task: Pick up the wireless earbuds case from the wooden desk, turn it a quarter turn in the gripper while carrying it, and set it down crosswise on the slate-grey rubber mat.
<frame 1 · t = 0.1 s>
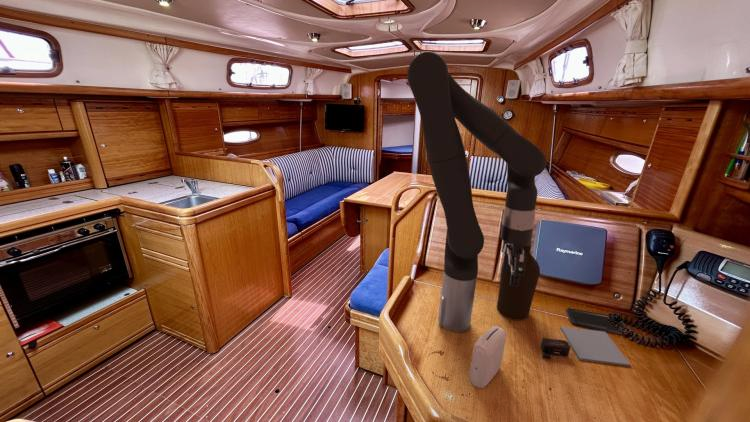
hand: (510, 277, 84), 17 cm above the table, tool pointing down, fingers open, 8 cm apart
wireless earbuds: (551, 354, 81), on the table
mat: (592, 345, 83), on the table
phone: (595, 323, 93), on the table
olive oil: (512, 311, 97), on the table
photo printer: (484, 374, 74), on the table
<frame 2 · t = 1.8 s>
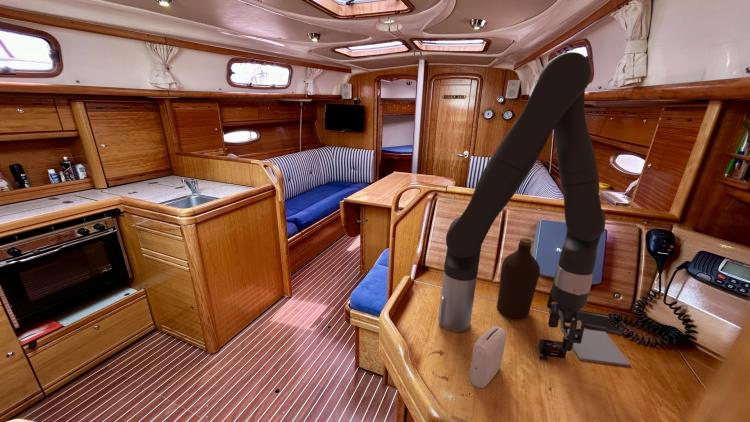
hand: (558, 337, 79), 5 cm above the table, tool pointing down, fingers open, 8 cm apart
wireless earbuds: (548, 356, 80), on the table
everything else where it was.
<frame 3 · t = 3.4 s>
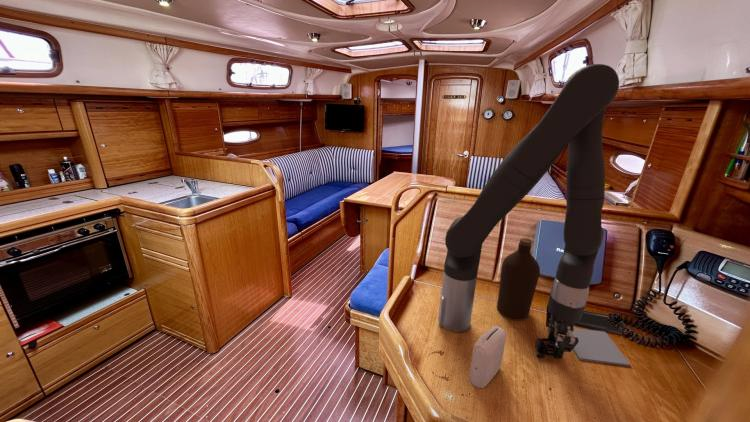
hand: (553, 351, 80), 1 cm above the table, tool pointing down, fingers closed on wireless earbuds, 3 cm apart
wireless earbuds: (546, 354, 80), on the table, touching gripper
everything else where it was.
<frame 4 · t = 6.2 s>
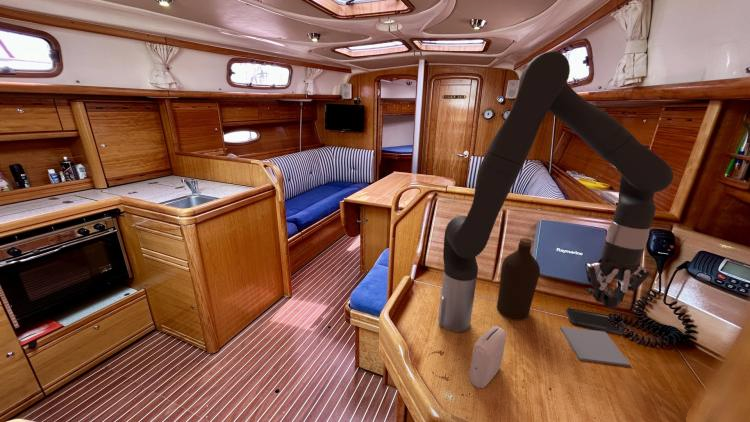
hand: (606, 300, 78), 15 cm above the table, tool pointing down, fingers closed on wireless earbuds, 3 cm apart
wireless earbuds: (600, 299, 80), point 14 cm above the table, touching gripper
everything else where it was.
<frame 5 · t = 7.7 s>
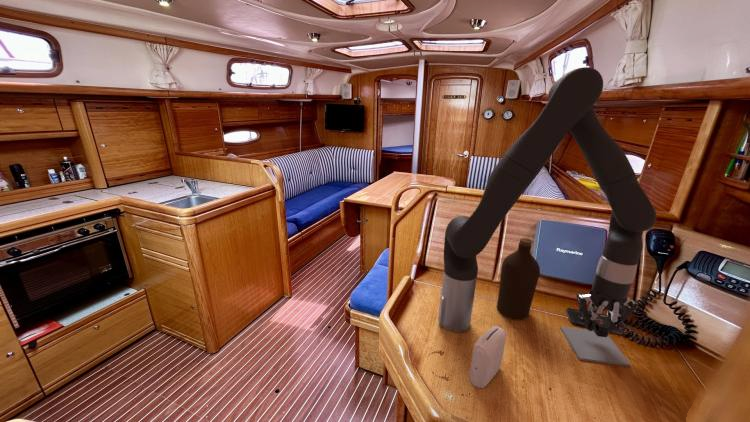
hand: (597, 329, 82), 5 cm above the table, tool pointing down, fingers closed on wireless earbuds, 3 cm apart
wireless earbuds: (591, 328, 84), point 4 cm above the table, touching gripper
everything else where it was.
when the fingers open (3 cm above the table, at t = 9.0 s): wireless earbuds drops 1 cm, resting on mat.
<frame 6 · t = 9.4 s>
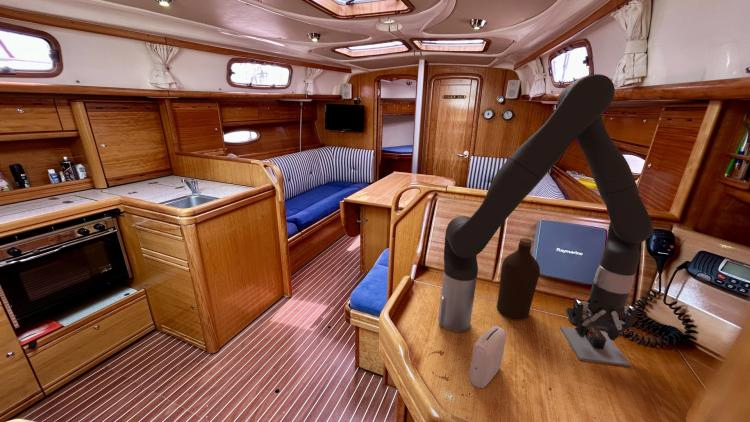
hand: (595, 336, 82), 3 cm above the table, tool pointing down, fingers open, 7 cm apart
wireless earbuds: (588, 339, 85), resting on mat
everything else where it was.
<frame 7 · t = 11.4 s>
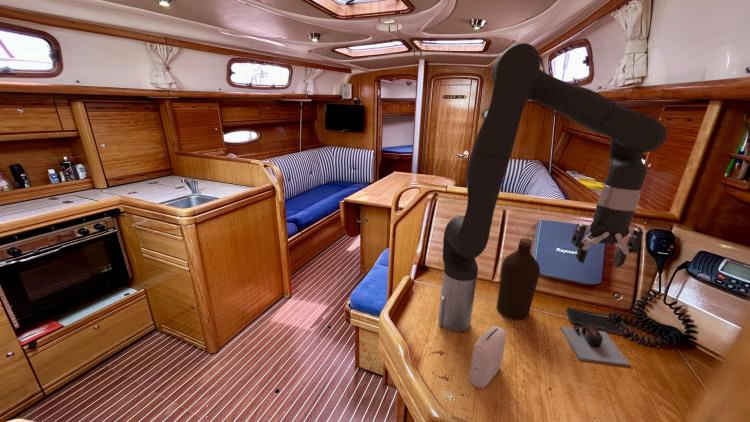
hand: (598, 263, 79), 24 cm above the table, tool pointing down, fingers open, 8 cm apart
nothing on the table moved.
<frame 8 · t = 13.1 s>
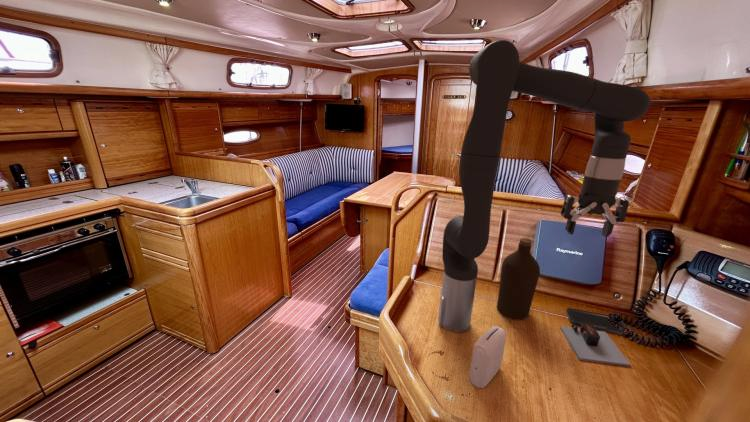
hand: (587, 234, 81), 30 cm above the table, tool pointing down, fingers open, 8 cm apart
at the end: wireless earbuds inside the target area on the mat (3.0 cm from its centre), point 0.4 cm above the mat's base; the gripper is holding nothing; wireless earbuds moved 13.5 cm from its start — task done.
